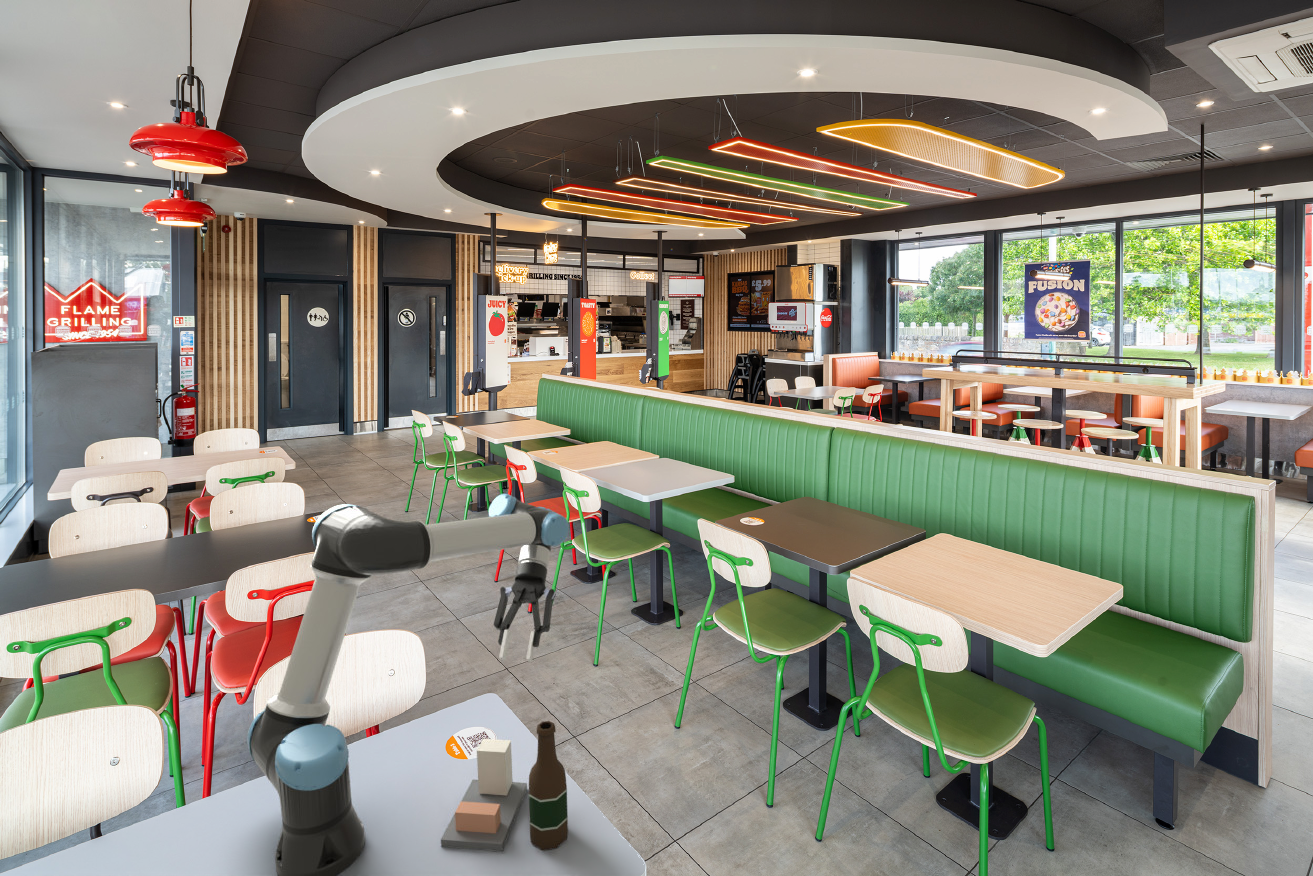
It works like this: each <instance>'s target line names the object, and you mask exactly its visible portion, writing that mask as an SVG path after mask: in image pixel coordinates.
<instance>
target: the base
mask: <svg viewBox="0 0 1313 876" xmlns="http://www.w3.org/2000/svg"><path fill="white" fill-rule="evenodd" d="M527 790H528V782H517V781H516V782H515V781H513V783H512V785H511V787H510V789H509V792H508V794H507V795H492V794H479V786H478V779H472V780H471V782H470V784H469V786H468V788H467V789H466V791H465V794H464V796H463V797H462V799H461V801H462V802H477V803H491V804H500V815H501V823H500V825H499V827H498V830H497V832H496V833H483V832H470V831H456V822H455V813H453V816H452V818H451V820H450V822H449V824H448V825H447V827H446V829H445V831H444V833H443V835H442V837H441V838H440V845H441V846H440V847H445V848H456V849H457V848H458V849H471V850H486V851H497V852H502V851H504V848H505V845H506V842H507V840H508V837H509V835H510V833H511V830H512V827H513V825H514V822H515V821H516V817H517V815H518V812H519V810H520V808H521V806H522V803H523V800H524V799H525V796H526V793H527Z"/></svg>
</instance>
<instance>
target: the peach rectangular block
mask: <svg viewBox="0 0 1313 876" xmlns="http://www.w3.org/2000/svg"><path fill="white" fill-rule="evenodd" d="M454 814H455V822H456V831H470V832H483V833H496V832H497V830H498V827H499V825H500V823H501V815H500V804H491V803H477V802H462V800H461V801H460V802H459V804H458V806H457V807H456V810H455V812H454Z"/></svg>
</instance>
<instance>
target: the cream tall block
mask: <svg viewBox="0 0 1313 876" xmlns="http://www.w3.org/2000/svg"><path fill="white" fill-rule="evenodd" d="M512 756H513V755H512V740H510V739H506V740H505V739H494V738H493V739H492V738H483V739H482V741H481V742H480V744H479V746H478V748H477V750H476V761H477V762H476V763H477V764H476V765H477V780H478V786H479V794H492V795H507V794H508V792H509V789H510V787H511V785H512V783H513V782H514V781H513V763H512V762H513V761H512V760H513V759H512Z"/></svg>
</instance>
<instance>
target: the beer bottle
mask: <svg viewBox="0 0 1313 876" xmlns="http://www.w3.org/2000/svg"><path fill="white" fill-rule="evenodd" d="M556 732H557V731H556V725H555V723H554V722H553V721H550V720H545V721H541V722H540V723H539V724H537V727H536V734H537V753H536V762H535V763H534V764H533V765H532V767H531V769H530V772H529V775H528V803H529V804H528V807H529V809H528V810H529V813H528V814H529V834H530V835H529V836H530V843H531V845H533V846H535V847H536V848H538V849H540V850H541V851H546V850H547V851H548V850H555V849H558V848H559V847H560V846H561V845H563V843H564V842H565V841H566V840H567V839H568V833H569V826H568V824H569V823H568V818H569V817H568V788H567V787H568V786H567V776H566V770H565V766H564V765H563V763H561V762H560V760H558V757H557V750H556V741H555V739H556V737H555V733H556Z"/></svg>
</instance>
